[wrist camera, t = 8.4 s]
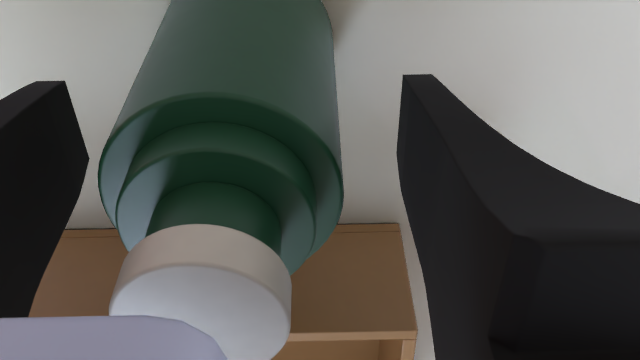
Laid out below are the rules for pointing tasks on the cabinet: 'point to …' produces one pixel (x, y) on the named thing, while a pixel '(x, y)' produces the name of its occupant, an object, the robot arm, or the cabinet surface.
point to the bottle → (226, 168)
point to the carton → (306, 301)
